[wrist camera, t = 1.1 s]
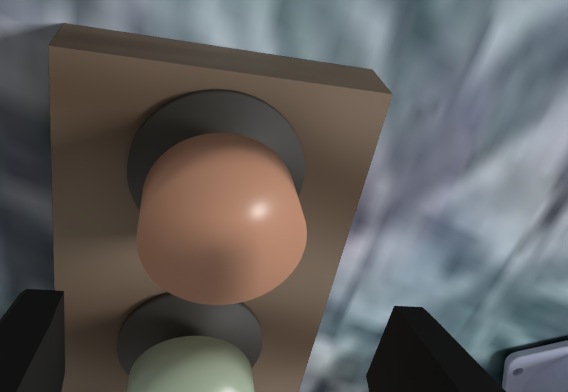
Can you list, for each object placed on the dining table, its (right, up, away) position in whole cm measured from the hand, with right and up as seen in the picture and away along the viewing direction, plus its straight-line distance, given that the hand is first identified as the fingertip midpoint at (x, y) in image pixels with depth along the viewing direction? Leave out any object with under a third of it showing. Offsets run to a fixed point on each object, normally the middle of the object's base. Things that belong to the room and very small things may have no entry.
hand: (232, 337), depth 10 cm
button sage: (-2, -3, +8) cm, 8 cm away
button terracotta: (-1, +3, +4) cm, 5 cm away
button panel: (-3, -1, +11) cm, 11 cm away
